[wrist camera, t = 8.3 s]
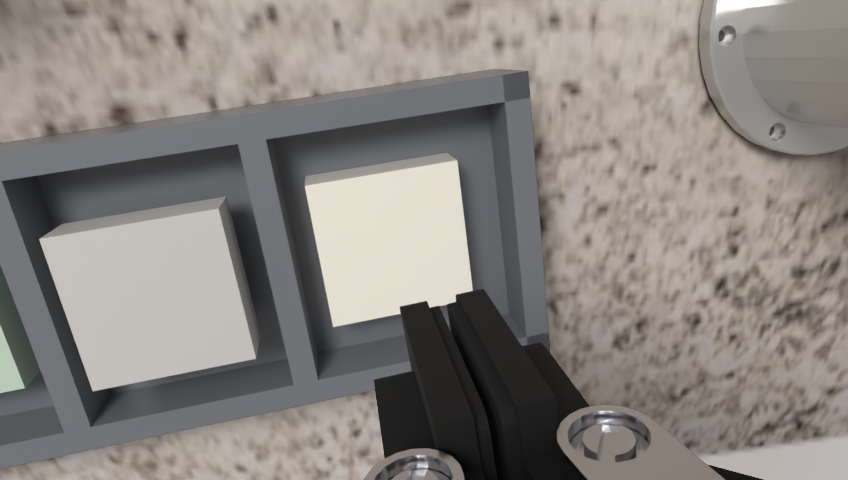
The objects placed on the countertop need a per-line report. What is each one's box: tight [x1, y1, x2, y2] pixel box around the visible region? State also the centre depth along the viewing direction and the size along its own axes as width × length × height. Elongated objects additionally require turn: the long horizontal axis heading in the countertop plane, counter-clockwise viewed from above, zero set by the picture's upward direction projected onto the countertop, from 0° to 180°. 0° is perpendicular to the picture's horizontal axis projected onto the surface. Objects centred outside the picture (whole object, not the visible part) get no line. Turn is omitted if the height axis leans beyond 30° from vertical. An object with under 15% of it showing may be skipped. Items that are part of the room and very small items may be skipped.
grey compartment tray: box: [0, 69, 550, 469], centre depth 25 cm, size 30×12×4 cm, turn 98°
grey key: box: [39, 196, 261, 391], centre depth 23 cm, size 6×6×2 cm
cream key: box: [305, 153, 473, 327], centre depth 25 cm, size 6×6×2 cm
